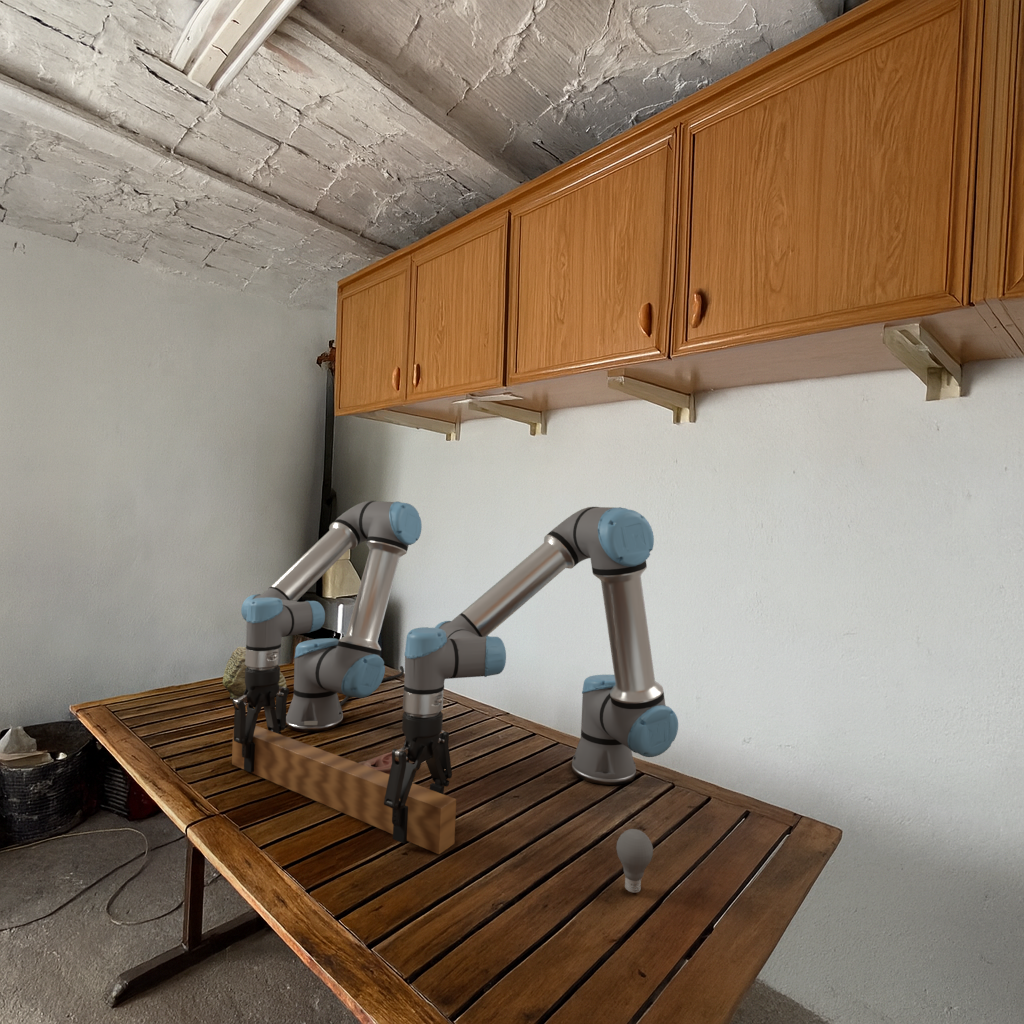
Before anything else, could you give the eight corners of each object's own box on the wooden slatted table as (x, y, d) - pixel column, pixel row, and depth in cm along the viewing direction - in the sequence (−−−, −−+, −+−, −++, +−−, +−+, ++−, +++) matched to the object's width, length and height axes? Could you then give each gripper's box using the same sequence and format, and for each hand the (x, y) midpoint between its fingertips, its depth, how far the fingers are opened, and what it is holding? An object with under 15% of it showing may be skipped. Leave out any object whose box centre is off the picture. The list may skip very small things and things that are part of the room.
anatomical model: (336, 761, 142) (359, 742, 153) (336, 778, 142) (358, 758, 153) (392, 768, 139) (411, 749, 151) (391, 786, 139) (410, 765, 151)
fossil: (218, 695, 195) (220, 647, 195) (278, 685, 208) (279, 640, 207) (228, 703, 189) (230, 653, 188) (289, 692, 201) (290, 645, 201)
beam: (231, 764, 148) (233, 728, 147) (249, 758, 151) (250, 723, 151) (438, 854, 114) (440, 808, 114) (454, 843, 118) (456, 799, 118)
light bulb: (610, 879, 108) (613, 822, 108) (644, 879, 109) (647, 822, 109) (619, 902, 102) (622, 840, 102) (655, 901, 103) (658, 840, 103)
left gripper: (238, 677, 136) (234, 784, 136) (305, 661, 151) (301, 758, 151) (217, 670, 140) (213, 775, 140) (284, 656, 155) (281, 750, 155)
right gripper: (397, 732, 108) (391, 862, 108) (473, 701, 127) (468, 812, 127) (365, 722, 112) (360, 847, 112) (444, 693, 131) (439, 801, 131)
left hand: (259, 766), depth 146 cm, fingers closed on beam, 5 cm apart
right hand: (418, 828), depth 120 cm, fingers open, 9 cm apart
